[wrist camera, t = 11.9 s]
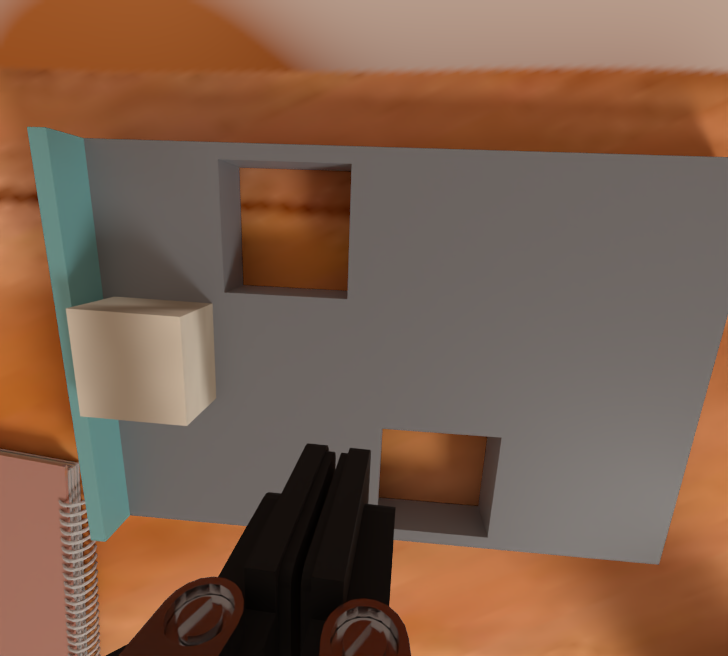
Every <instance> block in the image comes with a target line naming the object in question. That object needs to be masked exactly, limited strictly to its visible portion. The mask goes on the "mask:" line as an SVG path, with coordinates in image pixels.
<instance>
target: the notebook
mask: <svg viewBox="0 0 728 656" xmlns="http://www.w3.org/2000/svg"><path fill="white" fill-rule="evenodd" d="M83 504H85V500H83V501H81V497H80V474H79V463H77V462H72V461H66V460H61V459H55V458H50V457H44V456H38V455H33V454H27V453H22V452H16V451H11V450H5V449H0V656H90V655H91V654H92V653H94V652H95V651H96V649H97V648H98V651H97V653H96V654H95V655H94V656H98V654H99V652H100V647H98V646H99V644H100V640H98V638H99V636H100V633H99V632H98V630H99V628H100V626H99V625H98V622H99V617H97V616H98V614H99V610H97V608H98V605H99V602H97V599H98V597H99V595H98V594H97V596H96V598H95V600H94V601H93V602H92V603H91V604H90V605H88V606H86V607H85V603H86V602H87V601H89V600H90V599H91V598H93V597H94V596H95V594H96V593H97V591H98V586H96V584H97V582H98V578H96V575H97V573H98V570H96V572H95V574H94V576H93V577H91V578H90V579H89V580H88V581H86V582H84V577H86V576H88V575H89V574H91V573H92V572H93V571H94V570H95V569H96V566H97V563H98V562H95V564H94V566H93V567H92V569H91V570H90V571H88V572H87V573H85V574H84V569H85V568H86V567H88V566H89V565H91V564H92V563H93V562H94V561H95V559H96V558H97V553H95V555H94V558H93V559H92V560H91V561H90V562H88V563H87V564H85V565H84V564H83V560H85V559H87V558H89V557H90V556H91V555H92V554H93V553H94V552H95V550H96V548H97V545H95V546H94V548H93V550H92V551H91V552H90V553H89V554H87V555H85V556H83V551H84V550H87V549H89V548H90V547H91V546H92V545H93V544H94V543H95V541H94V540H93V541H92V542H91V543H90V544H88V545H87V546H85V547H83V542H85V541H86V540H88V539H90V538H91V536H90V534H89V535H88V536H87V537H85V538H83V539H82V533H84V532H86V531H88V530H89V526H88V527H87V528H85V529H82V524H84V523H86V522H87V521H88V517H87V518H86V519H84V520H82V519H81V515H83V514H84V513H86V512H87V510H86V509H85V510H82V511H81V505H83ZM95 578H96V581H95V583H94V584H93V585H92V586H91V587H90V588H89V589H87V590H85V587H84V586H86V585H87V584H89V583H90V582H91V581H93V580H94V579H95ZM95 586H96V589H95V590H94V592H93V594H92V595H90V596H89V597H87V598H86V599H85V594H86V593H88V592H89V591H91V590H92V589H93V588H94V587H95ZM96 602H97V604H96V607H95V608H94V609H93V610H92V611H91V612H90V613H89V614H87V615H86V610H88V609H89V608H90V607H92V606H93V605H94V604H95V603H96ZM96 610H97V613H96V615H95V616H94V617H93V618H92V619H91V620H90V621H89V622H87V623H86V619H87V618H88V617H89V616H91V615H92V614H93V613H94V612H95V611H96ZM96 618H97V621H96V623H95V624H94V625H93V626H92V627H91V628H90V629H89V630H87V631H86V627H87V626H88V625H89V624H91V623H92V622H93V621H94V620H95V619H96ZM97 625H98V627H97V629H96V631H95V632H94V633H93V634H92V635H91V636H90V637H89V638H87V634H88V633H89V632H91V631H92V630H93V629H94V628H95V627H96V626H97ZM97 633H98V635H97V636H96V638H95V640H94V641H93V642H92V643H91V644H90V645H88V646H87V642H88V641H89V640H91V639H92V638H93V637H94V636H95V635H96V634H97ZM97 640H98V643H97V645H96V647H95V648H94V649H93V650H92V651H91V652H89V653H88V654H87V650H88V649H89V648H90V647H92V646H93V645H94V644H95V643H96V642H97ZM99 656H101V655H100V654H99Z"/></svg>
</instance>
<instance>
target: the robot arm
mask: <svg viewBox="0 0 728 656" xmlns="http://www.w3.org/2000/svg"><path fill="white" fill-rule="evenodd" d="M370 463H371V450H368V449H358V448H350V449H349V452H348V453H341V454H340V457H339V460H338V463H337V466H336V453H335V452H332V451H329V447H328V445H319V444H310V443H307V444H306V446H305V448H304V450H303V452H302V453H301V455H300V457H299V459H298V461H297V463H296V465H295V467H294V469H293V471H292V473H291V475H290V477H289V479H288V481H287V483H286V485H285V487H284V489H283V491H282V493H273V492H268V493H266V494H265V496H264V497H263V499H262V500H261V502H260V504H259V506H258V508H257V509H256V511H255V513H254V515H253V516H252V518H251V520H250V522H249V523H248V525H247V527H246V529H245V530H244V532H243V534H242V536H241V538H240V539H239V541H238V543H237V545H236V546H235V548H234V550H233V552H232V553H231V555H230V557H229V559H228V561H227V562H226V564H225V566H224V568H223V569H222V571H221V573H220V575H219V576H218V577H207V578H200V579H198V580H195V581H192V582H189V583H187V584H186V585H184V586H182V587H181V588H179V589H178V590H176V591H175V592H174V593H173V594H172V595H171V596H169V597H168V598H167V599H166V600H165V601H164V602H163V604H162V605H161V606H160V607H159V608H158V610H157V611H156V612H155V613H154V614H153V615H152V617H151V618H150V619H149V620H148V621H147V622H146V624H145V625H144V626H143V627H142V628H141V630H140V631H139V632H138V633H137V634H136V635H135V637H134V638H133V639H132V640H131V641H130V642H129V644H127V645H125V646H123V647H121V648H119V649H118V650H116V651H114V652H112V653H110V654H108V655H106V656H411V651H410V644H409V638H408V634H407V631H406V627H405V625H404V623H403V622H402V620H401V619H400V617H399V615H398V614H397V613H396V612H395V611H393V610H392V609H391V608H390V607H389V600H390V585H391V570H392V555H393V540H394V525H395V510H396V507H390V506H382V505H374V504H368V502H369V483H370ZM335 467H336V469H335Z"/></svg>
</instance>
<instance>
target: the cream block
mask: <svg viewBox="0 0 728 656" xmlns="http://www.w3.org/2000/svg"><path fill="white" fill-rule="evenodd" d="M66 314H67V321H68V329H69V336H70V344H71V351H72V359H73V366H74V373H75V381H76V388H77V396H78V403H79V411H80V416H82V417H93V418H104V419H115V420H126V421H137V422H148V423H159V424H170V425H181V426H188V425H189V424H190V423H191V422H192V421H193V420H194V419H195V418H196V417H197V416H198V415H199V414H200V413H201V412H202V411H203V410H204V409H205V408H206V407H207V406H209V405H210V404H211V403H212V402H213V401H214V400H215V399H216V378H215V353H214V328H213V304H212V303H198V302H184V301H170V300H156V299H142V298H128V297H111V298H106V299H102V300H98V301H94V302H90V303H86V304H82V305H78V306H74V307H70V308H66Z"/></svg>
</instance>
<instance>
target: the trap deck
mask: <svg viewBox="0 0 728 656" xmlns="http://www.w3.org/2000/svg"><path fill="white" fill-rule="evenodd" d="M27 130H28V137H29V143H30V149H31V156H32V162H33V169H34V175H35V182H36V188H37V195H38V201H39V207H40V214H41V220H42V227H43V233H44V240H45V246H46V253H47V259H48V265H49V272H50V278H51V285H52V291H53V298H54V304H55V311H56V317H57V323H58V330H59V336H60V343H61V349H62V356H63V362H64V369H65V375H66V382H67V388H68V394H69V401H70V407H71V414H72V420H73V427H74V433H75V440H76V446H77V452H78V459H79V465H80V472H81V478H82V485H83V491H84V498H85V504H86V510H87V517H88V523H89V530H90V536H91V540H94V541H104V542H106V541H107V540H108V538H109V537H110V536H111V535H112V534H113V533H114V532H115V531H116V530H117V529H118V528H119V527H120V525H121V524H122V523H123V522H124V521H125V520H126V519H127V518H128V517H129V516H130V515H134V516H145V517H156V518H166V519H177V520H188V521H198V522H209V523H220V524H230V525H241V526H247V525H248V523H249V522H250V520H251V518H252V516H253V515H254V513H255V511H256V509H257V508H258V506H259V504H260V502H261V500H262V499H263V497H264V496H265V494H266V493H268V492H273V493H282V491H283V489H284V487H285V485H286V483H287V481H288V479H289V477H290V475H291V473H292V471H293V469H294V467H295V465H296V463H297V461H298V459H299V457H300V455H301V453H302V452H303V450H304V448H305V446H306V444H307V443H310V444H319V445H328V447H329V451H332V452H335V453H336V466H337V463H338V460H339V457H340V454H341V453H348V452H349V449H350V448H358V449H368V450H371V463H370V483H369V502H368V504H374V505H382V506H390V507H396V510H395V525H394V540H401V541H412V542H423V543H433V544H444V545H455V546H465V547H476V548H487V549H497V550H508V551H519V552H529V553H540V554H551V555H562V556H572V557H583V558H594V559H604V560H615V561H626V562H636V563H647V564H658V565H659V562H660V559H661V555H662V552H663V548H664V544H665V541H666V537H667V533H668V530H669V526H670V523H671V519H672V515H673V512H674V508H675V504H676V501H677V497H678V494H679V490H680V486H681V483H682V479H683V475H684V472H685V468H686V465H687V461H688V457H689V454H690V450H691V446H692V443H693V439H694V436H695V432H696V428H697V425H698V421H699V417H700V414H701V410H702V407H703V403H704V399H705V396H706V392H707V388H708V385H709V381H710V377H711V374H712V370H713V367H714V363H715V359H716V356H717V352H718V348H719V345H720V341H721V338H722V334H723V330H724V327H725V323H726V319H727V316H728V157H701V156H667V155H633V154H599V153H566V152H532V151H498V150H465V149H431V148H397V147H363V146H330V145H296V144H262V143H228V142H195V141H161V140H127V139H94V138H81V137H78V136H74V135H71V134H67V133H64V132H60V131H57V130H53V129H50V128H46V127H27ZM239 167H242V168H272V169H301V170H331V171H351V201H350V233H349V264H348V291H342V290H324V289H305V288H286V287H267V286H249V285H243V263H242V234H241V205H240V176H239ZM111 297H128V298H142V299H156V300H170V301H184V302H198V303H212V304H213V328H214V353H215V378H216V399H215V400H214V401H213V402H212V403H211V404H210V405H209V406H207V407H206V408H205V409H204V410H203V411H202V412H201V413H200V414H199V415H198V416H197V417H196V418H195V419H194V420H193V421H192V422H191V423H190V424H189V425H188V426H181V425H170V424H159V423H148V422H137V421H126V420H115V419H104V418H93V417H82V416H80V411H79V403H78V396H77V388H76V381H75V373H74V366H73V359H72V351H71V344H70V336H69V329H68V321H67V314H66V308H70V307H74V306H78V305H82V304H86V303H90V302H94V301H98V300H102V299H106V298H111ZM382 429H394V430H408V431H421V432H434V433H447V434H461V435H474V436H487V444H486V451H485V459H484V466H483V474H482V481H481V489H480V497H479V504H478V506H470V505H459V504H447V503H436V502H424V501H413V500H401V499H390V498H378V496H379V479H380V462H381V445H382ZM335 469H336V467H335Z"/></svg>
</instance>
